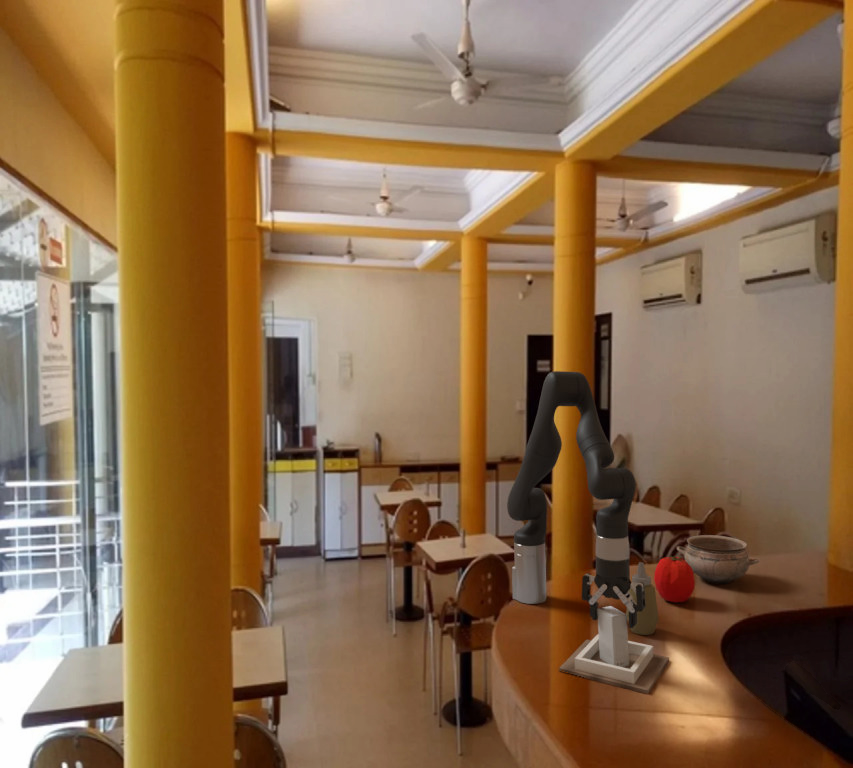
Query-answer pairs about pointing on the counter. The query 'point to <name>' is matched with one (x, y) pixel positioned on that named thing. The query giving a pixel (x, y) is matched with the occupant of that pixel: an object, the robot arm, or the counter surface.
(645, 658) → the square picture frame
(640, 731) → the counter surface
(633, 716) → the counter surface
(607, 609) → the skincare box
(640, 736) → the counter surface
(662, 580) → the tomato
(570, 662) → the board
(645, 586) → the squeeze bottle
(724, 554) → the cooking pot
